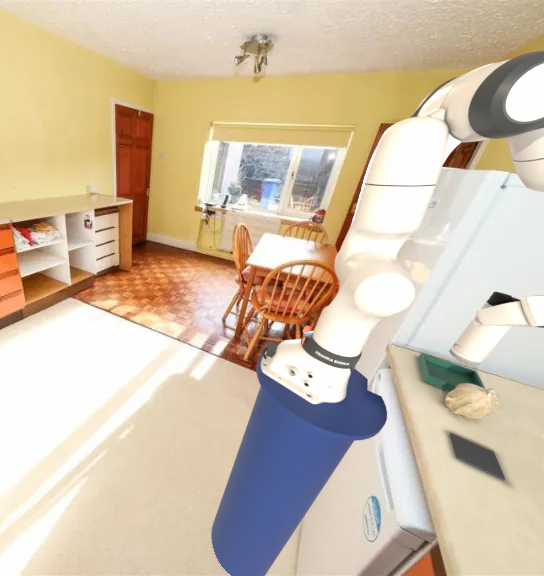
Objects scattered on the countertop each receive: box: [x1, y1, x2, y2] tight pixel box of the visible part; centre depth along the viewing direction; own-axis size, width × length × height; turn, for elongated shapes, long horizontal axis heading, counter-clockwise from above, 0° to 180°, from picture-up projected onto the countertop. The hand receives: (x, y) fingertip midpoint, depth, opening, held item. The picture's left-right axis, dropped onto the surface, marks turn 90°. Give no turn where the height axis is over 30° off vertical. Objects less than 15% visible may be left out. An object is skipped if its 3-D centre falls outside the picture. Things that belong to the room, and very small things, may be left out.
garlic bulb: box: [444, 383, 501, 420], centre depth 66 cm, size 9×8×10 cm
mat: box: [449, 432, 506, 481], centre depth 58 cm, size 7×7×1 cm
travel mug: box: [448, 291, 520, 366], centre depth 70 cm, size 6×7×20 cm
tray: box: [417, 352, 486, 392], centre depth 78 cm, size 13×13×2 cm
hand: (487, 322), depth 70 cm, fingers closed on travel mug, 6 cm apart
